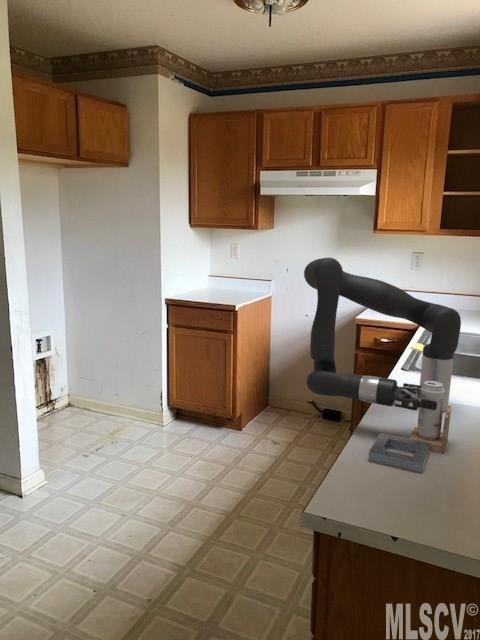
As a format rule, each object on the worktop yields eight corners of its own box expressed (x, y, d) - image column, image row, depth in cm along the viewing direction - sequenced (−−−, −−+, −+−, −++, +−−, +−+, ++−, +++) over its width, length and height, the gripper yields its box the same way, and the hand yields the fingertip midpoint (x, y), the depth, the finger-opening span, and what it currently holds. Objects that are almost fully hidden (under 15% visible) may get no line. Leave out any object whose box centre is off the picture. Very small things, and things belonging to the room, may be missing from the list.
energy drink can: (438, 442, 139) (444, 388, 136) (415, 437, 141) (420, 384, 138) (441, 434, 144) (446, 382, 141) (418, 429, 147) (423, 378, 143)
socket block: (379, 441, 143) (380, 432, 143) (429, 451, 138) (430, 443, 137) (368, 460, 132) (369, 451, 131) (422, 473, 126) (423, 463, 126)
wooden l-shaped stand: (413, 433, 149) (417, 400, 147) (447, 440, 145) (451, 406, 143) (408, 445, 141) (411, 410, 139) (443, 453, 137) (447, 417, 135)
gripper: (372, 385, 140) (437, 395, 133) (384, 371, 152) (443, 380, 145) (370, 411, 141) (434, 423, 134) (382, 395, 154) (440, 405, 147)
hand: (438, 400), depth 140 cm, fingers open, 8 cm apart
